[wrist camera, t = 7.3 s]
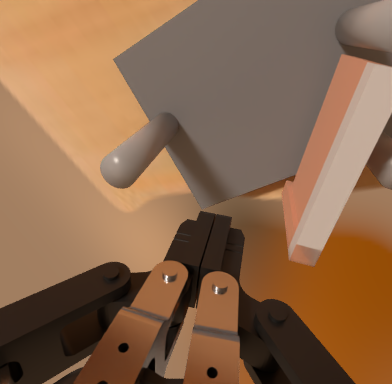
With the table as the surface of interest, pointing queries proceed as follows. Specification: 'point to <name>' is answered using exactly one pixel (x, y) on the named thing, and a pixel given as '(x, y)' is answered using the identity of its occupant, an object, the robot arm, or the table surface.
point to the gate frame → (244, 90)
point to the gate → (336, 154)
